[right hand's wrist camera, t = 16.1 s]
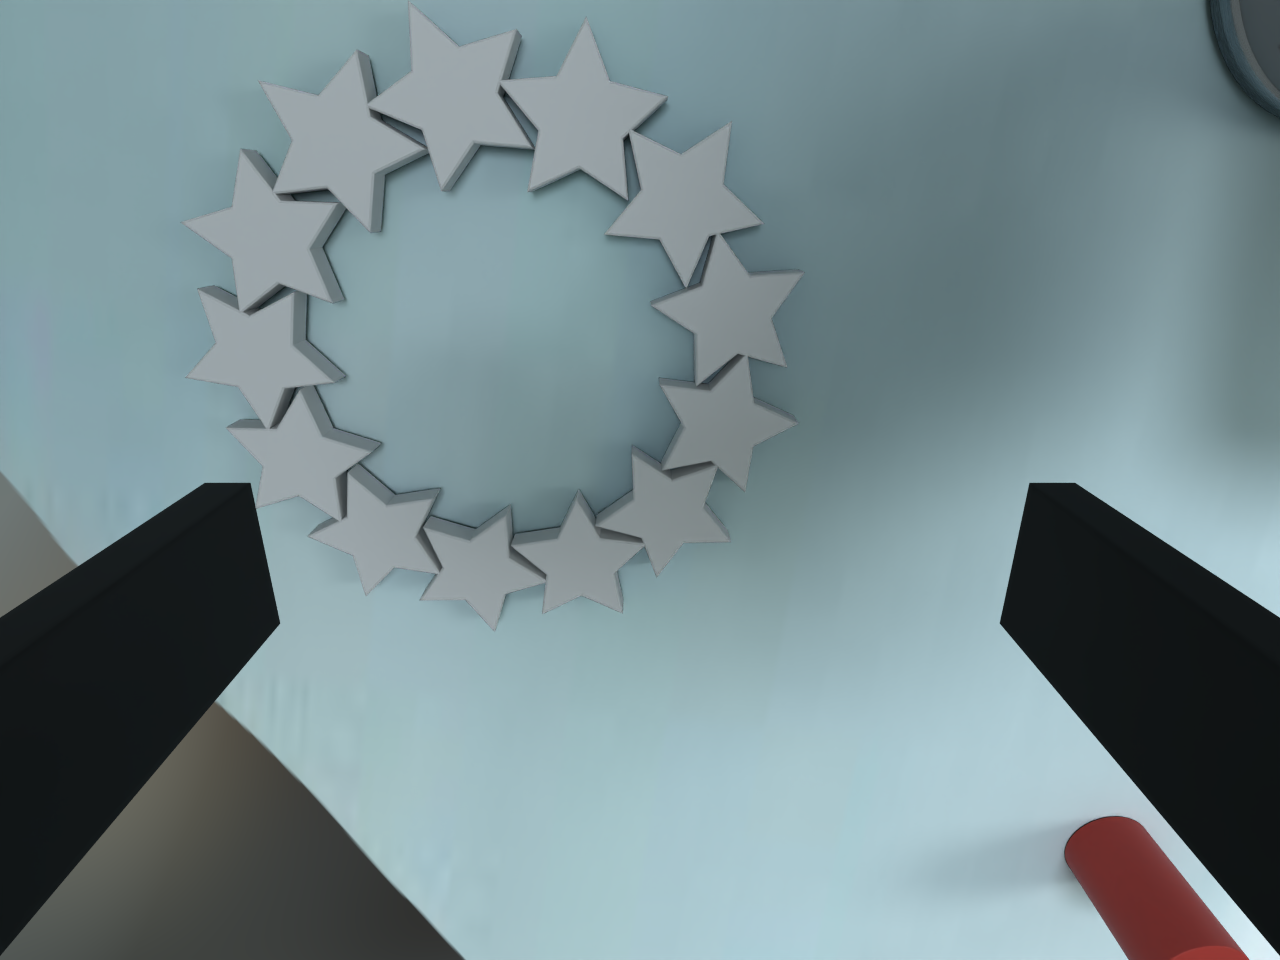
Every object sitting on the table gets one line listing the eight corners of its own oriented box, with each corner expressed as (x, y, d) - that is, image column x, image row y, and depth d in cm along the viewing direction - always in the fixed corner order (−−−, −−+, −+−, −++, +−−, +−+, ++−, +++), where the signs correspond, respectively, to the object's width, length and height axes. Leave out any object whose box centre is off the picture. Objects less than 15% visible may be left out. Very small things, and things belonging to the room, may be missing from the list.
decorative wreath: (71, 153, 33) (370, 674, 43) (44, 151, 31) (360, 691, 42) (702, -109, 29) (863, 527, 40) (706, -126, 28) (872, 540, 38)
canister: (1052, 872, 49) (1135, 1007, 41) (1081, 811, 47) (1175, 941, 39) (1128, 880, 50) (1226, 1017, 41) (1161, 820, 48) (1270, 951, 39)
